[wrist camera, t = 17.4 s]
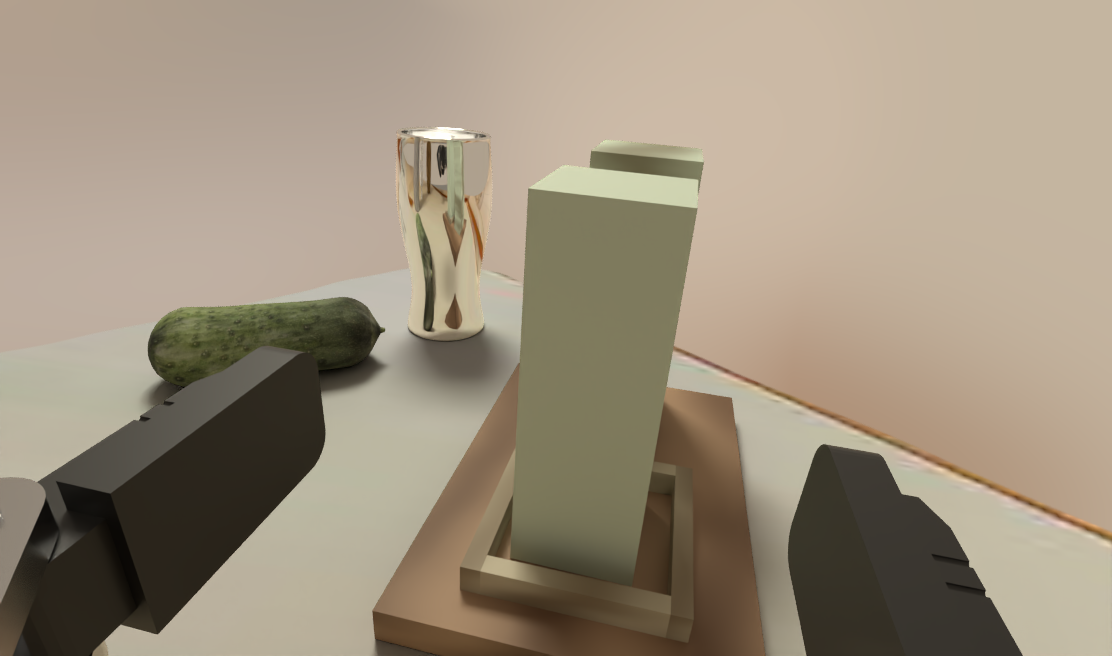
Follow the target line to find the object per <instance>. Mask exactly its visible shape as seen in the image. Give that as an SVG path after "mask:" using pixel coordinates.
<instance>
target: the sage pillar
mask: <svg viewBox="0 0 1112 656" xmlns="http://www.w3.org/2000/svg"><path fill="white" fill-rule="evenodd" d="M697 205H698V180H696V179H687V178H678V177H669V176H659V175H650V174H641V173H632V172H623V171H614V170H604V169H595V168H586V167H577V166H567V165H563V166H562V167H560V168H559V169H558V170H556V171H554V172H553V173H551V174H550V175H548V176H547V177H545V178H544V179H542V180H540V181H539V182H538V183H536V184H534V185H533V186H531V187H530V188H529V189H528V208H527V228H526V248H525V249H526V250H525V269H524V288H523V308H522V328H521V348H520V368H519V388H518V409H517V429H516V449H515V469H514V489H513V509H512V529H511V550H510V558H513V559H517V560H521V561H526V562H530V563H534V564H538V565H542V566H547V567H551V568H555V569H559V570H563V571H568V572H572V573H576V574H580V575H585V576H589V577H593V578H597V579H601V580H606V581H610V582H614V583H618V584H623V585H627V586H631V587H632V582H633V576H634V571H635V565H636V559H637V553H638V548H639V542H640V536H641V530H642V525H643V519H644V513H645V507H646V502H647V496H648V490H649V484H650V479H651V473H652V467H653V461H654V456H655V450H656V444H657V438H658V433H659V427H660V421H661V415H662V410H663V404H664V398H665V392H666V386H667V381H668V375H669V369H670V363H671V358H672V352H673V346H674V340H675V335H676V329H677V323H678V317H679V312H680V306H681V300H682V294H683V289H684V283H685V277H686V271H687V265H688V260H689V254H690V248H691V242H692V237H693V231H694V225H695V219H696V214H697Z"/></svg>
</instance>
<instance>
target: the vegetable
mask: <svg viewBox="0 0 1112 656" xmlns="http://www.w3.org/2000/svg"><path fill="white" fill-rule="evenodd" d="M382 332H385V328H382V327H380V326H379V324H378V323H377V321H376V320H375V318H374V317H373V315H372V314H371V312H370V310H369V309H368V307H367V306H365V305H364V304H363V303H361V302H359V301H357V300H355V299H352V298H348V297H339V298H330V299H323V300H315V301H303V302H288V303H271V304H254V305H240V306H226V307H185V308H179V309H177V310H174V311H172V312H170V313H168V314H167V315H166V316H164V317H163V318H162V319H161V320H160V321H159V322H158V323H157V324H156V326H155V327H154V329H153V331H152V333H151V335H150V339H149V342H148V357H149V360H150V362H151V365H152V367H153V369H154V370H155V371H156V373H157V374H158V375H159V376H160V377H162V378H163V379H164V380H166V381H168V382H170V383H173V384H176V385H180V386H185V387H186V386H188V385H190V384H191V383H193V382H195V381H198V380H200V379H203V378H206V377H208V376H211V375H214V374H216V373H219V372H221V371H224V370H225V369H227V368H228V367H230V366H231V365H233V364H234V363H236V362H237V361H239V360H240V359H242V358H244V357H245V356H247V355H248V354H250V353H251V352H253V351H254V350H256V349H257V348H259V347H262V346H272V347H277V348H283V349H289V350H295V351H300V352H306V353H309V354H311V355H312V356H313V357H314V358H315V360H316V363H317V366H318V370H326V369H334V368H342V367H349V366H352V365H355V364H357V363H359V362H361V361H362V360H364V359H365V358H366V357H367V356H368V355H369V354H370V352H371V350H372V349H373V347H374V345H375V343H376V341H377V339H378V337H379V335H380V333H382Z"/></svg>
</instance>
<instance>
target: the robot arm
mask: <svg viewBox="0 0 1112 656" xmlns="http://www.w3.org/2000/svg"><path fill="white" fill-rule="evenodd" d="M324 442H325V423H324V414H323V406H322V398H321V390H320V382H319V373H318V366H317V363H316V360H315V358H314V357H313V356H312V355H311V354H309V353H306V352H300V351H295V350H289V349H283V348H277V347H272V346H262V347H259V348H257V349H256V350H254V351H253V352H251V353H250V354H248V355H247V356H245V357H244V358H242V359H240V360H239V361H237V362H236V363H234V364H233V365H231V366H230V367H228V368H227V369H225V370H224V371H221V372H219V373H216V374H214V375H211V376H208V377H206V378H203V379H200V380H198V381H195V382H193V383H191V384H190V385H188V386H186V387H185V388H183V389H182V390H180V391H179V392H177V393H175V394H174V395H172V396H171V397H169V398H168V399H166V400H165V401H164V404H163V405H160V404H158V405H157V406H155V407H154V408H152V409H150V410H149V411H147V412H146V413H144V414H143V415H141V416H140V420H139V421H136V420H133V421H132V422H130V423H129V424H127V425H126V426H124V427H122V428H121V429H119V430H118V431H116V432H115V433H113V434H111V435H110V436H108V437H107V438H105V439H104V440H102V441H101V442H99V443H97V444H96V445H94V446H93V447H91V448H90V449H88V450H86V451H85V452H83V453H82V454H80V455H79V456H77V457H76V458H74V459H72V460H71V461H69V462H68V463H66V464H65V465H63V466H62V467H60V468H58V469H57V470H55V471H54V472H52V473H51V474H49V475H47V476H46V477H44V478H43V479H41V480H40V481H38V482H35V481H33V480H30V479H24V478H13V477H10V478H0V656H108V649H107V645H106V643H105V639H106V638H107V637H108V636H109V635H110V634H111V633H112V632H113V631H114V630H115V629H116V628H117V627H118V626H120V625H124V626H128V627H132V628H136V629H139V630H143V631H147V632H150V633H154V634H159V633H160V632H161V630H162V629H163V628H164V627H165V626H166V625H167V624H168V623H169V622H170V621H171V620H172V619H173V618H174V616H175V615H176V614H177V613H178V612H179V611H180V610H181V609H182V608H183V607H184V606H185V605H186V604H187V603H188V601H189V600H190V599H191V598H192V597H193V596H194V595H195V594H196V593H197V592H198V591H199V590H200V589H201V587H202V586H203V585H204V584H205V583H206V582H207V581H208V580H209V579H210V578H211V577H212V576H213V575H214V574H215V572H216V571H217V570H218V569H219V568H220V567H221V566H222V565H223V564H224V563H225V562H226V561H227V560H228V559H229V557H230V556H231V555H232V554H233V553H234V552H235V551H236V550H237V549H238V548H239V547H240V546H241V545H242V543H243V542H244V541H245V540H246V539H247V538H248V537H249V536H250V535H251V534H252V533H253V532H254V531H255V530H256V528H257V527H258V526H259V525H260V524H261V523H262V522H263V521H264V520H265V519H266V518H267V517H268V516H269V514H270V513H271V512H272V511H273V510H274V509H275V508H276V507H277V506H278V505H279V504H280V503H281V502H282V501H283V499H284V498H285V497H286V496H287V495H288V494H289V493H290V492H291V491H292V490H293V489H294V488H295V487H296V486H297V484H298V483H299V482H300V481H301V480H302V479H303V478H304V477H305V476H306V475H307V474H308V473H309V472H310V470H311V469H312V468H313V467H314V466H315V464H316V463H317V461H318V459H319V457H320V455H321V453H322V450H323V447H324ZM788 562H789V570H790V575H791V580H792V585H793V590H794V595H795V600H796V605H797V610H798V615H799V620H800V625H801V630H802V635H803V640H804V645H805V650H806V655H807V656H1023V655H1022V653H1021V652H1020V650H1019V648H1018V646H1017V645H1016V643H1015V641H1014V639H1013V637H1012V636H1011V634H1010V632H1009V630H1008V629H1007V627H1006V625H1005V623H1004V622H1003V620H1002V618H1001V616H1000V614H999V613H998V611H997V609H996V607H995V606H994V604H993V602H992V600H991V599H990V598H988V597H986V596H985V591H986V590H985V588H984V586H983V584H982V583H981V581H980V579H979V577H978V576H977V574H976V572H975V570H974V569H973V568H970V567H969V560H968V558H967V556H966V554H965V553H964V551H963V549H962V547H961V546H960V544H959V542H958V540H957V539H956V537H955V535H954V533H953V531H952V530H951V528H950V527H949V526H948V525H947V524H946V523H945V522H944V521H943V520H942V519H941V518H940V517H938V516H937V515H936V514H935V513H934V512H933V511H932V510H931V509H930V508H929V507H928V506H927V505H926V504H925V503H924V502H923V501H922V500H921V499H920V498H919V497H914V496H908V495H903V494H901V492H900V490H899V488H898V486H897V484H896V482H895V480H894V478H893V476H892V474H891V472H890V470H889V468H888V466H887V464H886V462H885V460H884V458H883V457H882V456H881V455H880V454H877V453H871V452H866V451H860V450H854V449H848V448H843V447H837V446H831V445H825V444H823V445H821V446H820V447H819V448H818V449H817V451H816V453H815V455H814V458H813V461H812V464H811V467H810V470H809V473H808V476H807V479H806V482H805V485H804V488H803V491H802V494H801V497H800V501H799V504H798V507H797V510H796V513H795V516H794V519H793V522H792V525H791V530H790V535H789V544H788Z"/></svg>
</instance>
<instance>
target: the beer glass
mask: <svg viewBox="0 0 1112 656" xmlns="http://www.w3.org/2000/svg"><path fill="white" fill-rule="evenodd" d="M490 137H491V136H490V135H489V134H487V133H484V132H479V131H473V130H466V129H456V128H441V127H412V128H402V129H399V130H397V150H396V197H397V209H398V215H399V221H400V227H401V232H402V236H403V241H404V245H405V250H406V254H407V259H408V263H409V268H410V273H411V283H412V295H411V303H410V310H409V316H408V327H409V329H410V331H411V332H413V333H414V334H415V335H417V336H419V337H422V338H425V339H430V340H437V341H454V340H461V339H465V338H469V337H471V336H474V335H476V334H477V333H479V332H480V331H481V330H482V328H483V326H484V318H483V312H482V306H481V301H480V288H479V284H480V273H481V267H482V261H483V256H484V251H485V246H486V241H487V235H488V231H489V224H490V217H491V209H492V162H491V146H490Z"/></svg>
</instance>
